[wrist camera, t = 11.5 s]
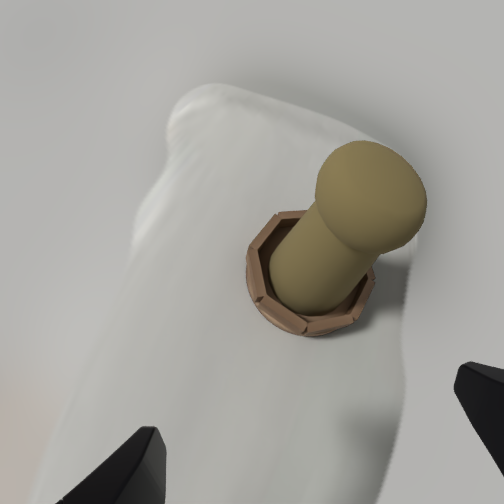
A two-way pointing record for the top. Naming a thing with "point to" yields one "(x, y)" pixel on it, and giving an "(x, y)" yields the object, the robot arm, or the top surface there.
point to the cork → (347, 227)
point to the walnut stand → (272, 306)
